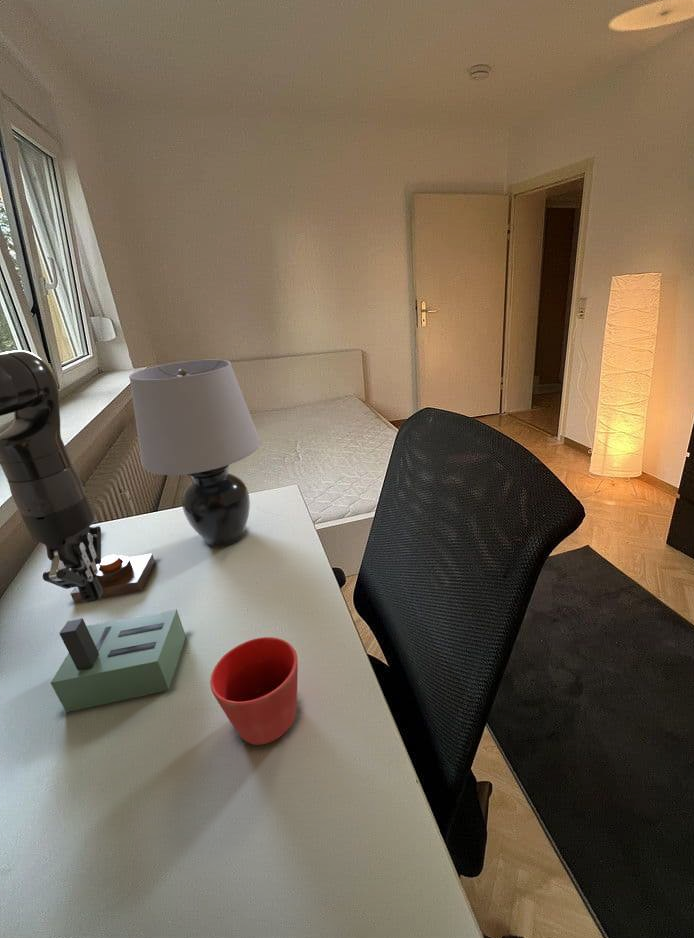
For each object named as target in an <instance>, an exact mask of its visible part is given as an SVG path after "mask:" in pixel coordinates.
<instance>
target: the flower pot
mask: <svg viewBox="0 0 694 938" xmlns="http://www.w3.org/2000/svg"><path fill="white" fill-rule="evenodd" d="M298 662H299V661H298V654H297V651H296V650H295V647H294V646H293V645H292V644H290V643H289V642H288V641H286V640H285V639H281V638H279V637H274V636H273V637H272V636H271V637H270V636H264V637H257V638H253V639H250V640H247V641H244V642H241V643H240V644H238V645H236V646H235V647H233V648H232V649H230V650H229V651H227V652H226V653H225V654H224V655H223V656H222V657H221V658H220V659H219V660H218V662H217V663H216V664H215V666H214V668H213V670H212V672H211V676H210V680H209V684H210V689H211V692H212V694H213V696H214V698H215V700H216V701H217V703H218V704H219V706H220V708H221V709H222V711H223V713H224V714H225V716H226V717H227V719H228V720H229V722H230V723H231V725H232V727H233V728H234V730H235V731H236V732H237V733H238V735H239V736H240V738H241V739H242V740H243V741H245V742H246V743H248V744H250V745H255V746H256V745H257V746H259V745H260V746H261V745H265V744H270V743H273V742H274V741H276V740H278V739H280V738H281V737H282V736H283V735H284V734H286V732H287V731H288V730H289V729H290V728H291V726H292V725H293V722H294V720H295V718H296V713H297V701H298V699H297V698H298V681H299V679H298V677H299V663H298Z"/></svg>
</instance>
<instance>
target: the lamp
mask: <svg viewBox="0 0 694 938" xmlns="http://www.w3.org/2000/svg"><path fill="white" fill-rule="evenodd" d="M236 376H237V375H236V374H235V370H234V369H233V366H232V362H231V361H230V360H226V359H216V358H215V359H211V358H210V359H207V358H206V359H193V360H184V361H176V362H170V363H164V364H159V365H154V366H149V367H146V368H143V369H140V370H139V369H138V370H137V371H134V372H132V373H130V374H129V376H128V379H129V382H130V383H129V384H130V388H131V396H132V404H133V411H134V418H135V425H136V431H137V433H136V434H137V439H138V446H139V455H140V460H141V461H140V462H141V463H140V464H141V468H143V470H144V471H146V472H148V473H150V474H154V475H161V476H182V475H187V476H188V477H189V478H190V480H191V482H190V483H189V484H188V485H187V487H186V488H185V490H184V491H183V494H182V496H181V504H182V510H183V513H184V515H185V518H186V521H188V523H189V525H190V526H191V527H192V529H193V530H194V531H195V532H196V533H197V534H198V535H199V536H200V537H202V538H203V539H204V540H205V542H206V544H208V545H209V546H211V547H224V546H229V545H232V544H234V543H236V542H238V541H239V540H241V539H242V538H243V537H244V536H245V534H246V533H245V532H246V526H247V523H248V519H249V516H250V509H251V500H250V494H249V490H248V488H247V485H246V483H245V482H244V481H243V480H242V479H241V478H239V477H238V476H237V475H234V474H233V473H229V466H230V465H232V464H234V463H238V462H239V461H242V460H244V459H246V458H247V457H249V456H250V455H252V454H254V453H255V452H256V451H257V450H258V449H259V447H260V446H261V438H260V437H259V434H258V431H257V429H256V426H255V424H254V421H253V418H252V415H251V413H250V410H249V408H248V405H247V402H246V400H245V397H244V396H243V395H244V394H243V392H242V390H241V387H240V384H239V382H238V378H237V377H236Z"/></svg>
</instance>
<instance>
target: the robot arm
mask: <svg viewBox="0 0 694 938" xmlns="http://www.w3.org/2000/svg"><path fill="white" fill-rule="evenodd" d="M59 394H60V393H59V386H58V382H57V379H56V377H55V375H54V373H53V371H52V370H51V368H50V367H49V365H48V364H47V363H46V362H45V361H44V360H43V359H42V358H40V357H39V356H37V355H36V354H35V353H32V352H30V351H26V350H11V351H5V352H0V417H3V416H7V415H9V414H12V413H13V422H12V423H11V425H10V426H9V427H8V428H7V429H5V430H4V431H1V432H0V467H1V469H2V472H3V474H4V476H5V478H6V480H7V483H8V486H9V491H10V494H11V498H12V499H13V502H14V504H15V506H16V508H17V510H18V513H19V515H20V517H21V519H22V522H23V524H24V525H25V527H26V529H27V532H28V534H29V536H30V538H31V539H32V540H33V541H34V542H37V543H41V544H42V545H44V546H45V549H46V556H47V558H48V560H50V561H51V565H50V569H49V570H48V571H44V572H43V573H42V579H43V581H44V582H47V583H50V584H52V585H55V586H57V587H60V588H62V589H65V590H68V589H71V588H75V587H78V589H79V592H80V594H81V596H82V599H83V600H84V601H83V602H85V603H91V602H96V601H99V600H100V599H101V598H100V597H101V595H102V594H103V590H102V588H101V585H100V583H99V580H98V578H97V575H96V574H97V573H98V569H97V566H96V565H97V564H100V563H101V559H102V528H101V526H99V525H97V526H96V525H95V526H92V525H93V523H94V521H95V513H94V512H93V509H92V507H91V503H90V501H89V499H88V495H87V494H86V491H85V489H84V486H83V484H82V481H81V478H80V476H79V474H78V472H77V471H76V469H75V468H74V466H73V464H72V461H71V458H70V456H69V453H68V451H67V448H66V446H65V443H64V440H63V439H62V434H61V414H60V413H61V411H60V395H59Z"/></svg>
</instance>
